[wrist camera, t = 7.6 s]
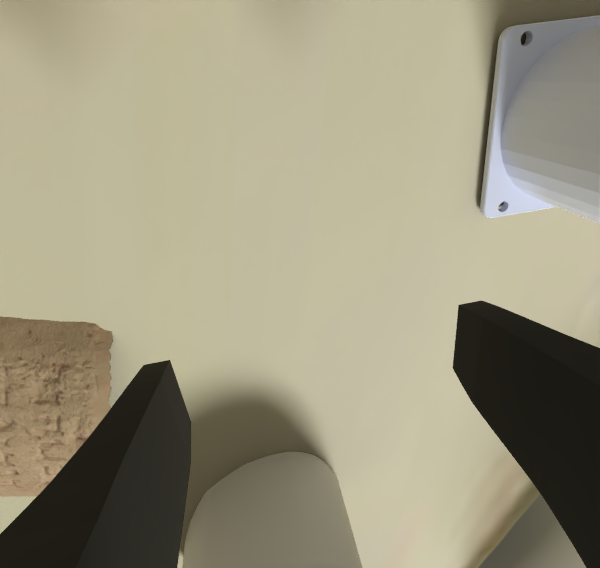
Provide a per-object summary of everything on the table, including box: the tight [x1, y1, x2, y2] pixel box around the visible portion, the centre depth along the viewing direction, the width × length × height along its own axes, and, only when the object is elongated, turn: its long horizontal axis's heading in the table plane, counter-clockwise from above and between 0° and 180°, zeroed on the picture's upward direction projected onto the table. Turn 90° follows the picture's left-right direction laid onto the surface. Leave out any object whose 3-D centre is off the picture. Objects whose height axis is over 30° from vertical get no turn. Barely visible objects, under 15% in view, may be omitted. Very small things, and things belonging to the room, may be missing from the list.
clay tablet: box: [0, 317, 113, 497], centre depth 20 cm, size 14×10×3 cm
